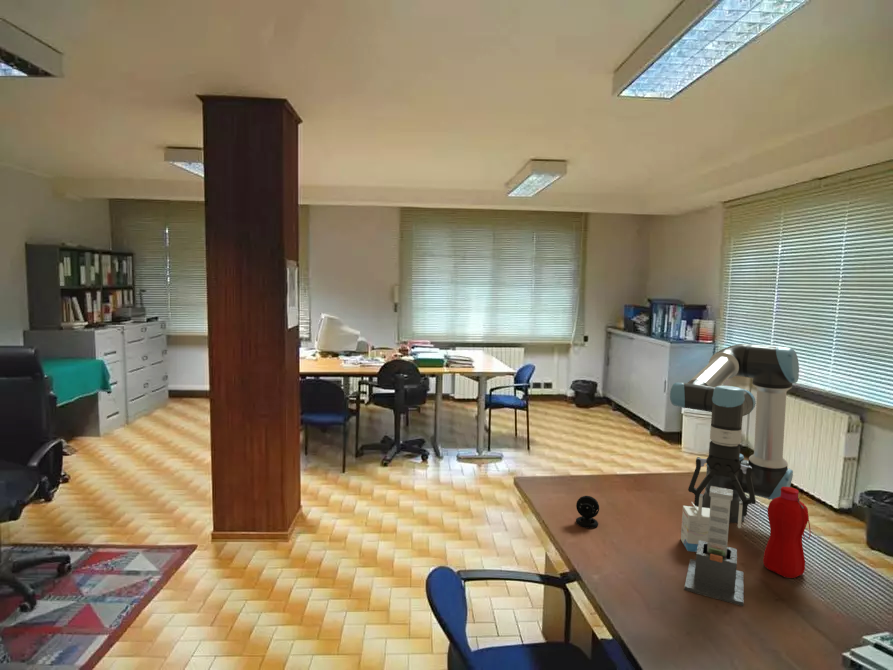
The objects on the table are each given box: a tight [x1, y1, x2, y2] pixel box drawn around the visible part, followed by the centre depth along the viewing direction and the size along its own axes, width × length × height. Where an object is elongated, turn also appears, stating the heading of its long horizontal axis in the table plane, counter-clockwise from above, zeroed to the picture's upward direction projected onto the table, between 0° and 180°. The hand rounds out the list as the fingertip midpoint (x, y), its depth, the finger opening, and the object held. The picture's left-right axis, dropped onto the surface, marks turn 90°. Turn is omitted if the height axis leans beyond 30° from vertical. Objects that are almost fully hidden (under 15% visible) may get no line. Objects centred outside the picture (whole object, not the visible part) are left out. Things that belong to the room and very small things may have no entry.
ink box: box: [680, 501, 710, 553], centre depth 168 cm, size 9×8×13 cm
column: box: [707, 486, 733, 559], centre depth 146 cm, size 6×6×19 cm
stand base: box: [683, 540, 745, 607], centre depth 147 cm, size 18×14×10 cm
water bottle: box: [762, 486, 812, 579], centre depth 153 cm, size 9×11×25 cm
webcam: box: [575, 495, 600, 529], centre depth 183 cm, size 8×8×10 cm
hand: (719, 521), depth 146 cm, fingers open, 9 cm apart
